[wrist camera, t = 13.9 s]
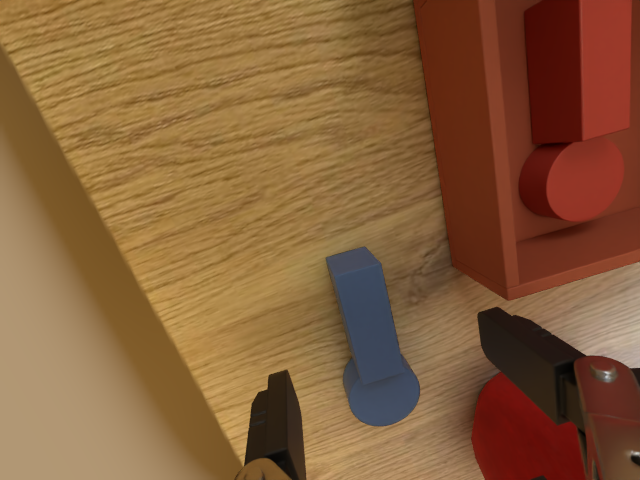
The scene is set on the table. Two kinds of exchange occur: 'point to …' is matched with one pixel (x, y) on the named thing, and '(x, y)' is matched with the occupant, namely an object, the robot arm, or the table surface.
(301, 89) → the table surface
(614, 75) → the red spoon
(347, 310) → the blue spoon
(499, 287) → the terracotta bin
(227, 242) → the table surface
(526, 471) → the apple
